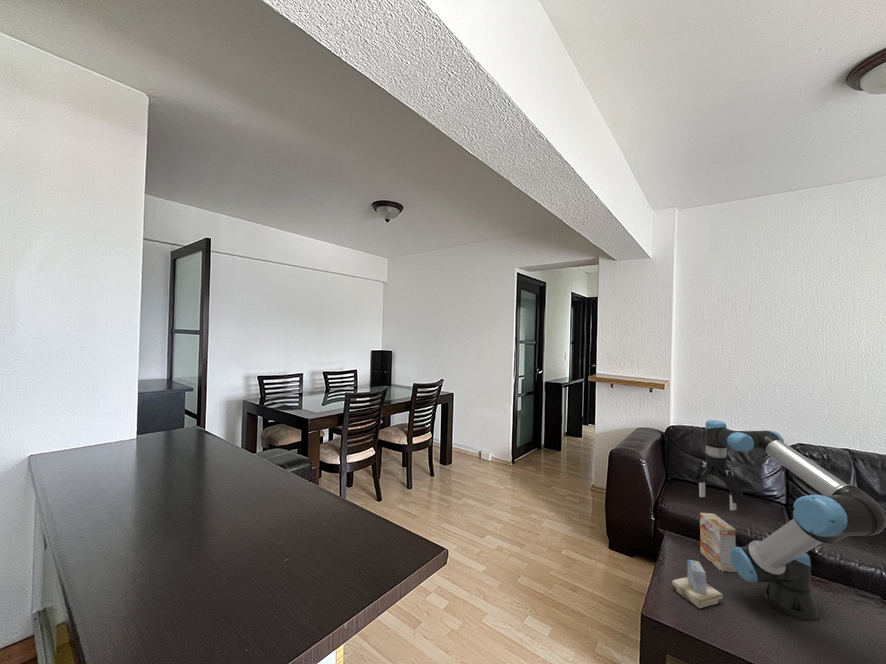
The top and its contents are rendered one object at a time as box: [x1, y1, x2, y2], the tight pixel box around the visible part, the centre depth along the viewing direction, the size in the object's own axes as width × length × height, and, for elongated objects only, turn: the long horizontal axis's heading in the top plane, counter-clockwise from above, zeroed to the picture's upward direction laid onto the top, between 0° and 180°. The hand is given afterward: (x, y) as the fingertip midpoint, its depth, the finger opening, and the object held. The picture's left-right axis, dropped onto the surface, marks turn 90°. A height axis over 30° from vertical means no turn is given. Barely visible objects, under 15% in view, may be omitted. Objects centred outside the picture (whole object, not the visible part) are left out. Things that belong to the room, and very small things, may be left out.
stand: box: [671, 576, 723, 609], centre depth 145 cm, size 12×12×4 cm
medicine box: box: [686, 559, 707, 594], centre depth 145 cm, size 8×4×9 cm, turn 160°
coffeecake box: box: [699, 512, 737, 573], centre depth 168 cm, size 15×7×20 cm, turn 174°
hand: (717, 503), depth 160 cm, fingers open, 13 cm apart
